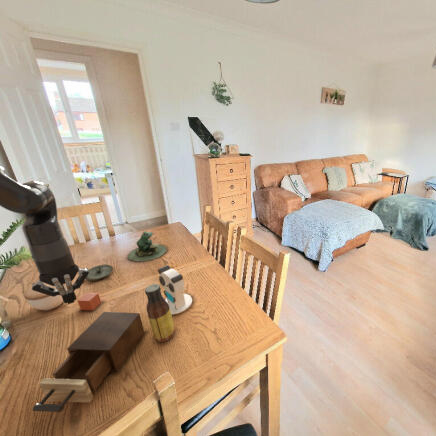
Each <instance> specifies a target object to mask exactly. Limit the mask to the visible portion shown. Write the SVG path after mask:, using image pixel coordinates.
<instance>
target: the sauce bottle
mask: <svg viewBox="0 0 436 436" xmlns="http://www.w3.org/2000/svg"><path fill="white" fill-rule="evenodd" d="M161 290H162V289H161V284H159V283H152V284H149V285H148V286H145V289H144V293H145V295H146V296H147V303H146V312H147V318H148V321H149V324H150V327H151V331H152V334H153V337H154V338H155V341H156V342H160V343H163V342H167V341H169V340H170V339H172V338H173V337H174V336H175V333H176V329H175V327H176V326H175V323H174V320H173V316H172V315H171V311H170V307H169V304H168V303H167V302H166V300H165V299H166V298H164V297H163V294H162V292H161Z"/></svg>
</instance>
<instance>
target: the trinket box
mask: <svg viewBox="0 0 436 436" xmlns="http://www.w3.org/2000/svg"><path fill="white" fill-rule="evenodd" d="M43 283H44V282H43ZM44 284H45V286H48V287H51V288H54V289H57V288H56V287H55V286H51V285H49V284H46V283H44ZM63 286H64V288H65V290H66V291H67V287H66V284H63ZM23 298H24V299H25V300H26V302H27V304H28V305H29V306H30V307H31V308H33V309H35V310H41V311H50V310H53V309H55V308H57V307H58V306H60V305H61V304H62V303H63V302H64V301H63V299H62V296H61V295H56V296H55V297H52V296H49V295H46V294H43V293H40V292H37V291H33V290H32V286H30V287H29V288H27V289H26V290H25V291H24V294H23Z"/></svg>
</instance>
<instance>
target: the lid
mask: <svg viewBox="0 0 436 436" xmlns="http://www.w3.org/2000/svg"><path fill="white" fill-rule="evenodd" d="M88 271H89V274H88V276H87V277H86V279H85V280H86V281H90V282H91V281H92V282H94V281H95V282H96V281H99V280H102V279H104V278H106V277H109V276H110V275H111V274H112V272H113V271H114V267H113V266H112V265H111V264H99V265H96V266H93V267H91V268H89V269H88Z"/></svg>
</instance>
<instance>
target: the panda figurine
mask: <svg viewBox="0 0 436 436" xmlns="http://www.w3.org/2000/svg"><path fill="white" fill-rule="evenodd" d="M157 272H158V274H159V276H158V280H159V283H160V286H162V288H163V289H164V290H163V294H164V296H165V298H164V299H165V300H166V302H167V303H168V304H169V307H170V311H171V315H178V314H181V313H183V312H185V311H186V310H188V309H189V308H190V307H191V305H192V303H193V298H192V296H191V295H190V294H188V293H184V292H185V291H186V287H185V282H184V276H183V275H182V274H181V273H179V271H177V270H176V269H174V268H170V266H169V265H168V264H167V265H165V266H161V267H160V268H158V269H157Z"/></svg>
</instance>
